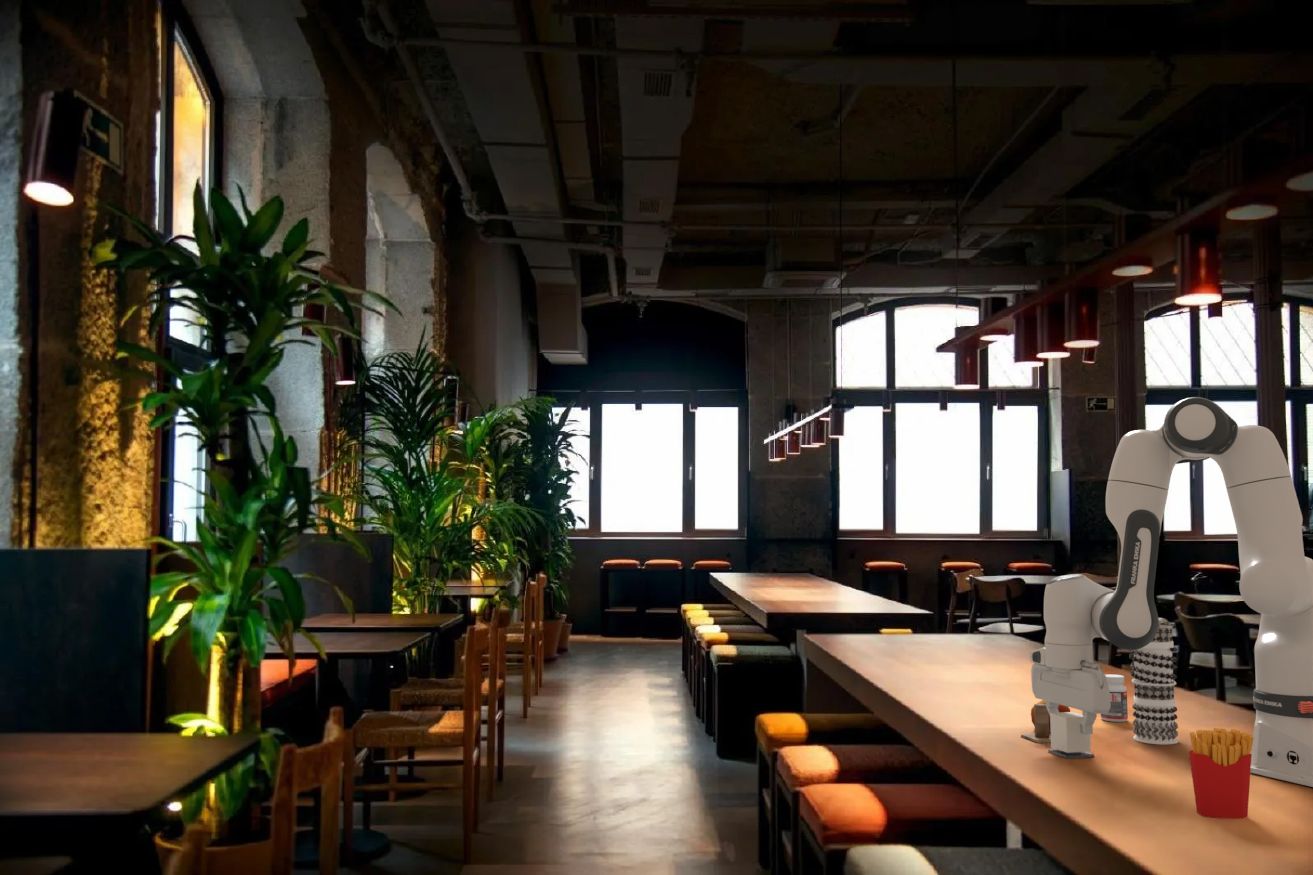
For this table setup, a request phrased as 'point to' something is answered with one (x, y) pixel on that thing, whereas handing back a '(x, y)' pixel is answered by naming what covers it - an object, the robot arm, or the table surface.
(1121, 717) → the pill bottle
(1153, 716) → the black white cylinder
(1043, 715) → the knob on square plate
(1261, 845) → the table surface
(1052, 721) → the white rectangular block
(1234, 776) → the french fries
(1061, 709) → the fruit
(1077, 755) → the grey square post stand
